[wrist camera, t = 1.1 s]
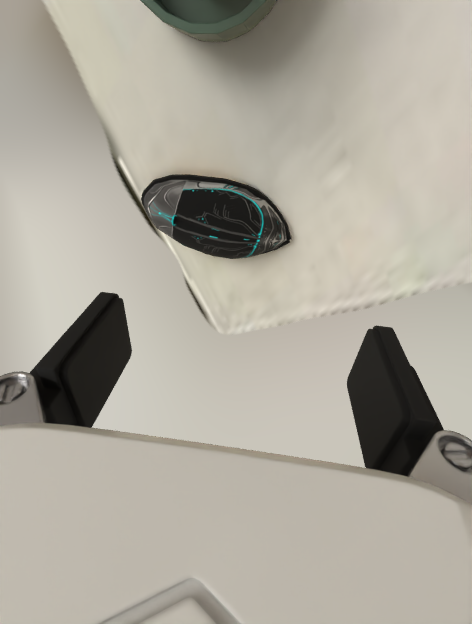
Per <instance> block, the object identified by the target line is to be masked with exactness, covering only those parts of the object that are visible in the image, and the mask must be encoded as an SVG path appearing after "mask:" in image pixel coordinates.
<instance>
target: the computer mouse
mask: <svg viewBox="0 0 472 624" xmlns="http://www.w3.org/2000/svg"><path fill="white" fill-rule="evenodd" d="M141 200H142V204H143V206H144V208H145V210H146V212H147V214H148V216H149V218H150V220H151V221H152V222H153V224H154V225H155V226H156V228H157V229H159V230H160V231H162V232H164V233H165V234H167V235H168V236H170V237H171V238H173V239H174V240H176V241H178V242H179V243H181V244H182V245H184V246H187V247H189V248H192V249H195V250H197V251H200V252H203V253H205V254H209V255H212V256H217V257H224V258H230V259H236V258H247V257H252V256H256V255H259V254H263V253H267V252H270V251H273V250H276V249H278V248H280V247H282V246H284V245H286V244H288V243H289V242H290V241H289V240H291V236H290V233H289V230H288V226H287V223H286V222H285V220H284V218H283V217H282V215H281V213H280V212H279V210H278V209H277V208H276V206H275V205H274V204H273V203H272V202H271V201H270V200H269V199H268V198H267V197H266V196H265V195H264V194H262V193H261V192H260V191H259V190H257V189H255V188H253V187H251V186H249V185H246V184H242V183H239V182H235V181H232V180H228V179H223V178H214V177H206V176H197V175H169V176H166V177H162V178H159V179H155V180H153V181H152V182H151V183H150V185H149V186H148V187H147V188H146V189H145V190H144V191H143V193H142V198H141Z"/></svg>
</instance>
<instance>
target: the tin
mask: <svg viewBox="0 0 472 624" xmlns="http://www.w3.org/2000/svg"><path fill="white" fill-rule="evenodd" d="M140 1H142V2H143V3H144V4H145V5H146V6H147V7H148V8H149V9H150V10H151V11H152V12H153V13H154V14H155V15H157V16H158V17H159V18H160V19H161V20H162V21H163V22H165V23H166V24H168V25H170V26H171V27H173V28H175V29H177V30H178V31H180V32H182V33H185V34H187V35H189V36H191V37H194V38H196V39H198V40H200V41H209V42H220V41H224V42H225V41H228V40H231V39H234V38H237V37H239V36H241V35H243V34H245V33H247V32H249V31H250V30H251V29H252V28H254V27H255V26H256V25H257V24H258V23H259V22H260V21H261V20H262V19H264V18H265V16H266V15H267V14H268V13H269V12H270V11H271V9H272V8H273V6H274V4H275V3H276V1H277V0H140Z"/></svg>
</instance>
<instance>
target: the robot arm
mask: <svg viewBox="0 0 472 624" xmlns="http://www.w3.org/2000/svg"><path fill="white" fill-rule="evenodd" d="M131 352H132V349H131V343H130V337H129V331H128V326H127V320H126V314H125V309H124V303H123V299H122V298H119V296H118V295H117V294H114V293H105V292H101V293H100V294H99V295H98V296H97V297H96V298H95V299H94V300H93V302H92V303H91V304H90V305H89V306H88V307H87V309H86V310H85V311H84V312H83V313H82V314H81V315H80V316H79V318H78V319H77V320H76V321H75V322H74V323H73V325H71V326H70V328H69V329H68V330H67V331H66V332H65V333H64V334H63V335H62V337H61V338H60V339H59V340H58V341H57V342H56V343H55V345H54V346H53V347H52V348H51V349H50V351H49V352H48V353H47V354H46V355H45V356H44V357H43V358H42V360H41V361H40V362H39V363H38V364H37V365H36V366H35V367H34V369H33V370H32V371H31V372H30V373H26V372H12V373H8V374H4V375H2V376H0V624H472V441H471V440H470V439H469V438H467V437H465V436H463V435H461V434H459V433H456V432H453V431H447V430H444V429H443V427H442V425H441V423H440V421H439V419H438V417H437V415H436V412H435V410H434V408H433V406H432V404H431V402H430V400H429V398H428V396H427V394H426V392H425V390H424V388H423V385H422V383H421V381H420V379H419V377H418V375H417V373H416V371H415V369H414V368H413V367H412V366H410V364H409V362H408V360H407V357H406V356H405V353H404V351H403V349H402V347H401V345H400V343H399V340H398V338H397V336H396V334H395V332H394V330H393V329H392V328H390V327H383V326H374V327H373V329H368V331H367V333H366V336H365V338H364V340H363V343H362V345H361V347H360V350H359V352H358V355H357V357H356V359H355V362H354V364H353V367H352V369H351V372H350V374H349V376H348V380H347V388H348V393H349V396H350V401H351V406H352V410H353V414H354V419H355V423H356V427H357V432H358V436H359V441H360V445H361V449H362V454H363V459H364V463H365V467H366V468H362V467H356V466H350V465H344V464H338V463H332V462H326V461H319V460H312V459H306V458H299V457H293V456H286V455H280V454H273V453H266V452H260V451H253V450H246V449H239V448H232V447H225V446H218V445H212V444H205V443H198V442H191V441H184V440H177V439H169V438H163V437H156V436H148V435H141V434H134V433H127V432H120V431H113V430H105V429H97V428H91V427H92V426H93V424H94V422H95V420H96V419H97V417H98V415H99V413H100V411H101V410H102V408H103V406H104V404H105V402H106V401H107V399H108V397H109V395H110V393H111V392H112V390H113V388H114V386H115V384H116V383H117V381H118V379H119V377H120V375H121V374H122V372H123V370H124V368H125V366H126V364H127V363H128V361H129V359H130V356H131Z"/></svg>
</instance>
